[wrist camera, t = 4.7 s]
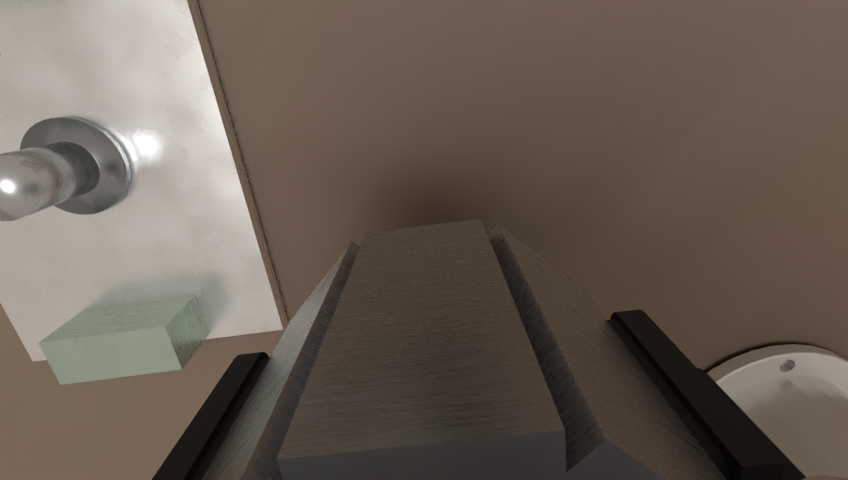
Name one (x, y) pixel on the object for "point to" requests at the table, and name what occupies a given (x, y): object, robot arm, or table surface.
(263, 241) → the seat
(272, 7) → the table surface
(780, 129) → the table surface
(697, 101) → the table surface
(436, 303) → the hub
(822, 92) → the table surface
